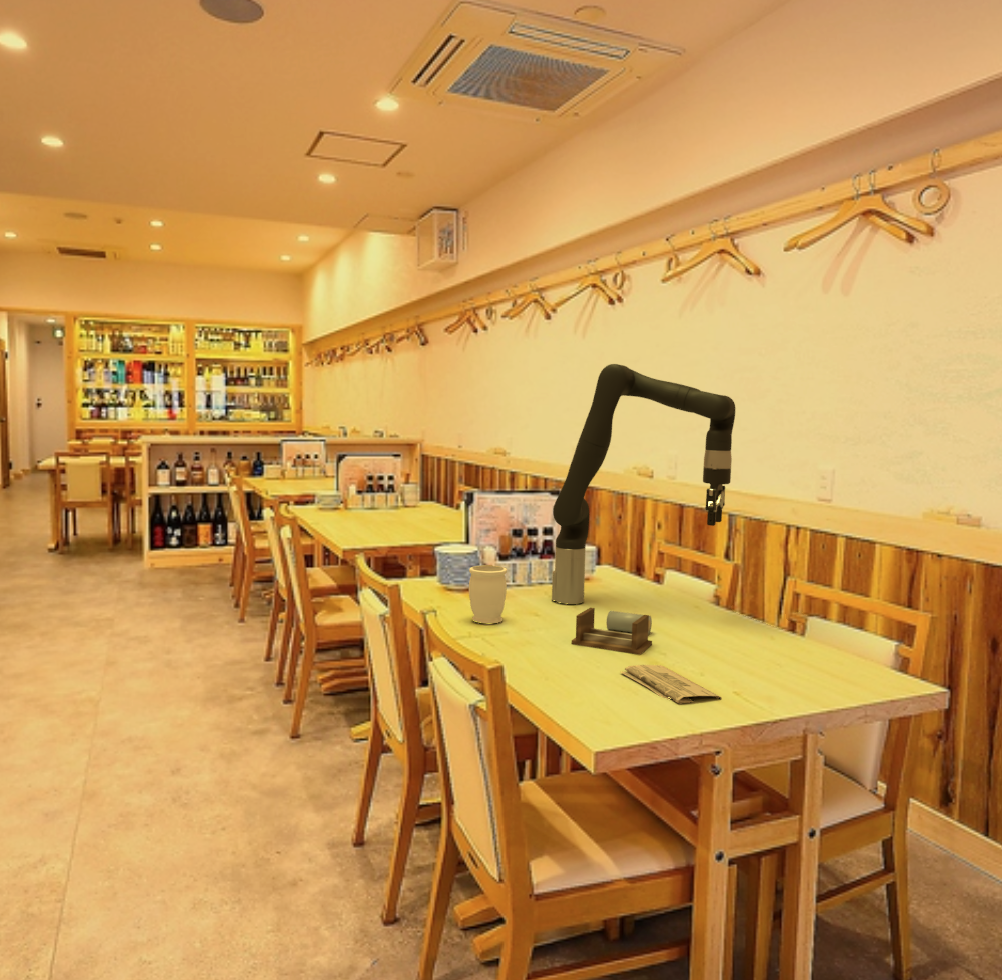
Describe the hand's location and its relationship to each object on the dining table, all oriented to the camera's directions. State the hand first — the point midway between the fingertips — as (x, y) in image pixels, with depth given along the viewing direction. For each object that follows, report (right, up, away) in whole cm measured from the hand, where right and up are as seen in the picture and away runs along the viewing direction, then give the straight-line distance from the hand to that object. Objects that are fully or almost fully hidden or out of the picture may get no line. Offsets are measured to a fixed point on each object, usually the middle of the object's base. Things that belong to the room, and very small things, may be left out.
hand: (714, 523), depth 226 cm
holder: (-32, -30, -23) cm, 49 cm away
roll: (-26, -29, -10) cm, 40 cm away
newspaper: (-24, -34, -53) cm, 68 cm away
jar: (-64, -27, -2) cm, 70 cm away
